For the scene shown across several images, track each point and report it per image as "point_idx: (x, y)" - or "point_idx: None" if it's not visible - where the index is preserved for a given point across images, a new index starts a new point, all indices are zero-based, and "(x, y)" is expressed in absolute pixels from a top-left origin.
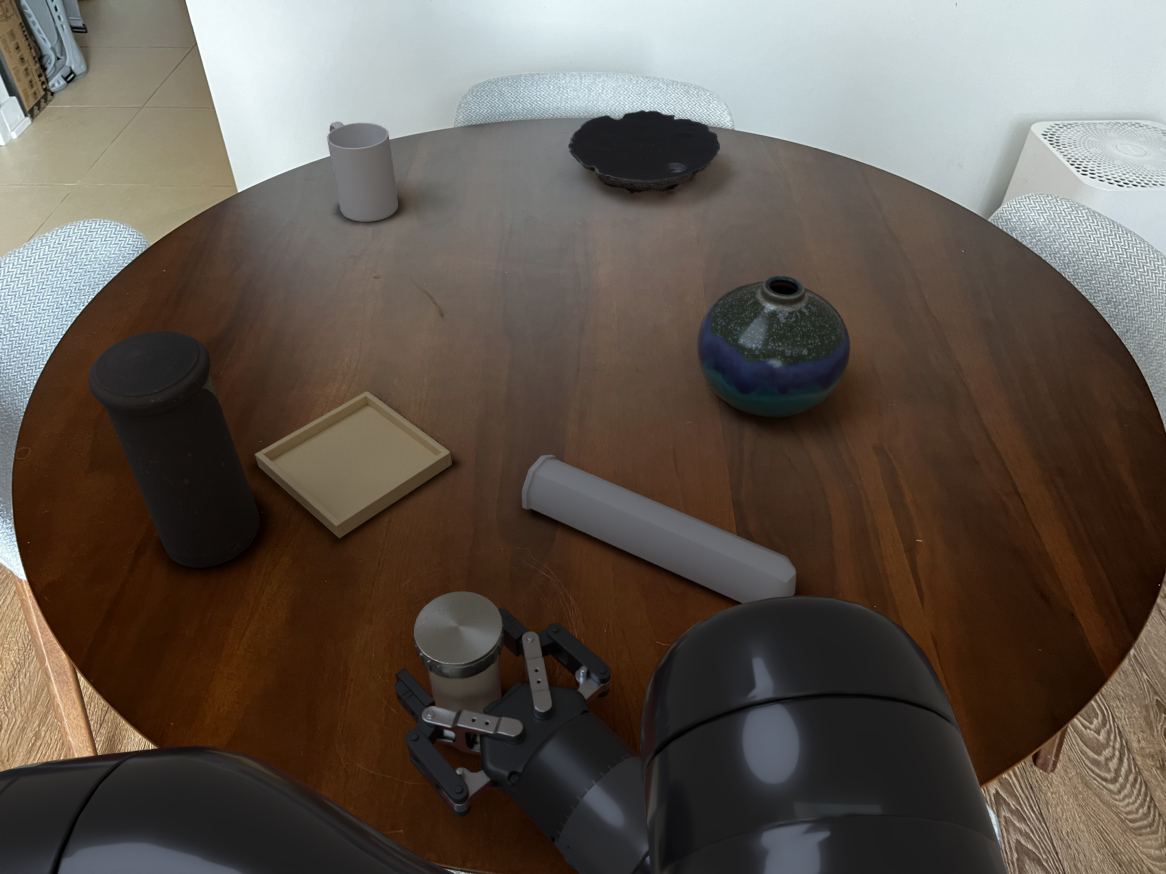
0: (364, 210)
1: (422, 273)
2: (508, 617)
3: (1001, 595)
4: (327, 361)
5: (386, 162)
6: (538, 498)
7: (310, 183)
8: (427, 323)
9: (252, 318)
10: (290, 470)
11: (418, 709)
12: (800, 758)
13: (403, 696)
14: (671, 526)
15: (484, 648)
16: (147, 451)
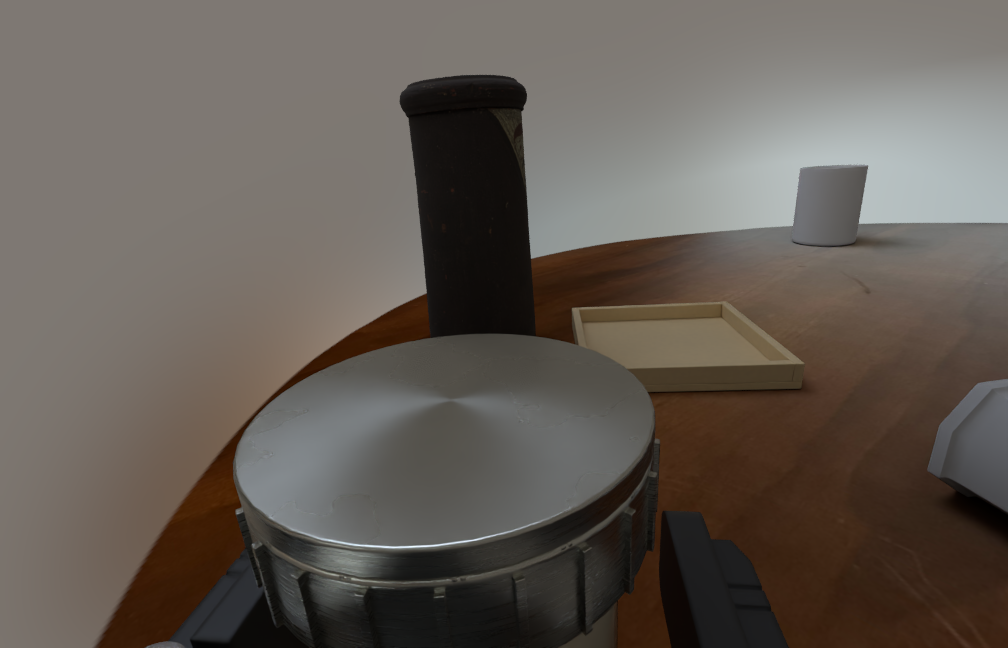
0: (815, 232)
1: (858, 270)
2: (741, 586)
3: None
4: (705, 292)
5: (855, 189)
6: (988, 452)
7: (775, 231)
8: (843, 293)
9: (663, 266)
10: (594, 332)
11: (193, 632)
12: None
13: (241, 562)
14: None
15: (408, 521)
16: (420, 175)
